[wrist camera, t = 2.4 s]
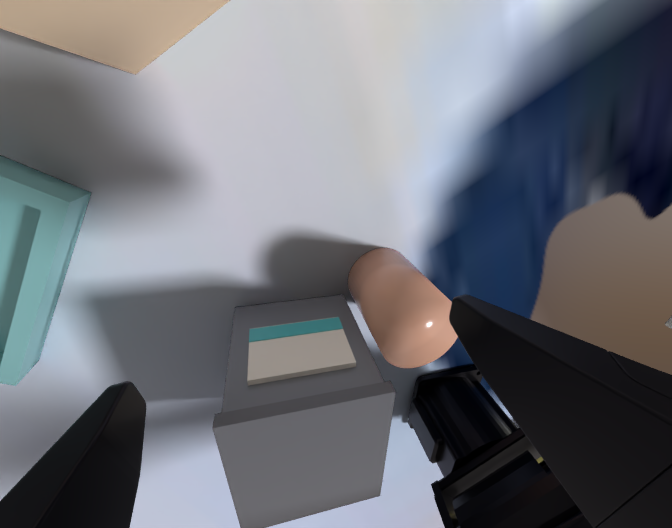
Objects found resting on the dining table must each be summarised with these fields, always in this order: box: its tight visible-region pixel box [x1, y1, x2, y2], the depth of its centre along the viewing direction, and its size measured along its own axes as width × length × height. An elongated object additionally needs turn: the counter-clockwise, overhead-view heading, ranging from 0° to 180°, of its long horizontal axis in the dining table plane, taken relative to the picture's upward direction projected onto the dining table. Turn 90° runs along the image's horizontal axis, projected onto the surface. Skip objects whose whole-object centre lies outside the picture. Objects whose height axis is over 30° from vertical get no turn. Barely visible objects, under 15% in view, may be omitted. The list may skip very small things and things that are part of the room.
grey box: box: [213, 295, 396, 528], centre depth 17 cm, size 8×9×8 cm
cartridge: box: [348, 248, 458, 368], centre depth 17 cm, size 4×4×6 cm
